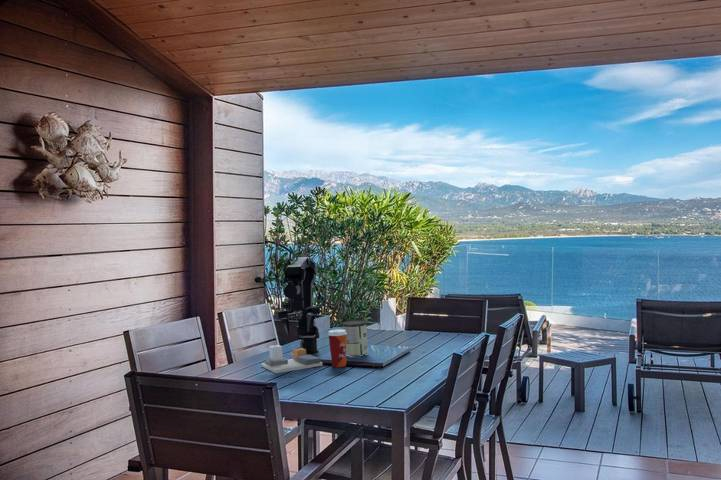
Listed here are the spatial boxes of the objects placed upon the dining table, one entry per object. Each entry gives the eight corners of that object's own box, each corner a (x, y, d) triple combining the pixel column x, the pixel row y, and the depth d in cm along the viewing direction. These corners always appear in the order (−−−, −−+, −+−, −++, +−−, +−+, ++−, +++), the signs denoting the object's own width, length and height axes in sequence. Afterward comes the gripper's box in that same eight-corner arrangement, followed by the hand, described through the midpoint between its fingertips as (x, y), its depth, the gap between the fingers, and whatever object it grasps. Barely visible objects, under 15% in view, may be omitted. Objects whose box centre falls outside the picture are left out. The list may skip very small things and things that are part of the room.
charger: (279, 361, 277) (278, 344, 277) (283, 363, 274) (281, 345, 273) (270, 363, 275) (269, 345, 275) (273, 364, 272) (272, 347, 271)
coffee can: (345, 353, 294) (343, 320, 293) (369, 352, 293) (367, 319, 292) (342, 358, 284) (340, 324, 283) (367, 357, 283) (365, 323, 282)
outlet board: (306, 359, 285) (306, 352, 285) (322, 365, 271) (322, 358, 271) (261, 366, 276) (261, 359, 276) (275, 373, 261) (275, 366, 261)
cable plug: (295, 354, 290) (295, 345, 290) (306, 358, 280) (305, 349, 280) (287, 356, 288) (286, 346, 288) (297, 360, 278) (297, 350, 278)
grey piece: (310, 359, 279) (309, 354, 279) (320, 362, 270) (319, 358, 270) (296, 361, 276) (296, 356, 276) (306, 365, 268) (306, 360, 267)
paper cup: (346, 367, 264) (344, 332, 264) (327, 368, 266) (325, 332, 265) (350, 363, 272) (348, 328, 271) (332, 363, 273) (330, 329, 273)
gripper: (309, 292, 292) (311, 328, 292) (268, 296, 283) (270, 333, 283) (319, 293, 282) (322, 331, 282) (277, 298, 273) (280, 336, 273)
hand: (298, 333), depth 281 cm, fingers open, 9 cm apart
